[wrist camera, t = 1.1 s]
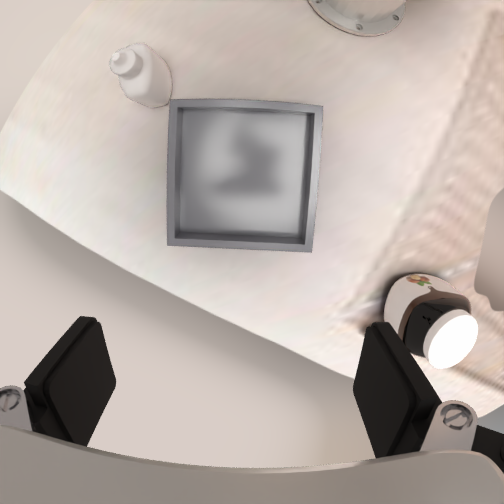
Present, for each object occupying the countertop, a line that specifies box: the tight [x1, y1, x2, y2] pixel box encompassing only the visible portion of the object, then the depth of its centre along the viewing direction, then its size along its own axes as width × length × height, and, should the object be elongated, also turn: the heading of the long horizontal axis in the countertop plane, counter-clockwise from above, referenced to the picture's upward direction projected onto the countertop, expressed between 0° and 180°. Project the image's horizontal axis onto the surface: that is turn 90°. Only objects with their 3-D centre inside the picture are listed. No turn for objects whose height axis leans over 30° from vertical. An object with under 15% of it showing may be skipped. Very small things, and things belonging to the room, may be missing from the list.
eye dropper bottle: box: [109, 43, 172, 108], centre depth 25 cm, size 4×6×12 cm
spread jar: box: [384, 273, 478, 369], centre depth 33 cm, size 12×11×12 cm
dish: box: [167, 99, 323, 253], centre depth 32 cm, size 15×15×4 cm
